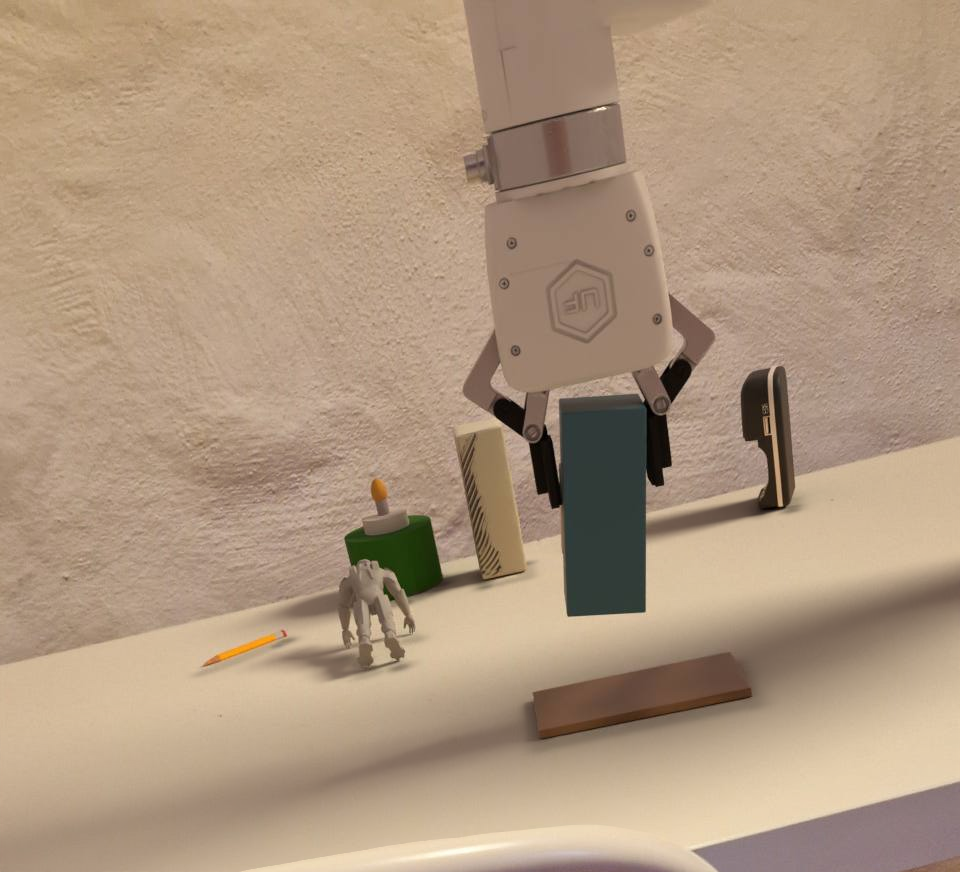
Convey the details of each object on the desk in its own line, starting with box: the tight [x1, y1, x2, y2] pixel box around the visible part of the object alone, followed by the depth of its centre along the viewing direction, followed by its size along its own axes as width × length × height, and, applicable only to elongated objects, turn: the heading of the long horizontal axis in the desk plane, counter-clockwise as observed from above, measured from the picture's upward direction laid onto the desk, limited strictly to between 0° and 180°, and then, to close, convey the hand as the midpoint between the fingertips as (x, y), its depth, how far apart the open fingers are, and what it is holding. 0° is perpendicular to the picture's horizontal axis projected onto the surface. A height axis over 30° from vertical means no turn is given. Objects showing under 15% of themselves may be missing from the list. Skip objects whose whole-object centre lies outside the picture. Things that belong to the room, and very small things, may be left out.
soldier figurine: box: [337, 559, 417, 669], centre depth 117 cm, size 6×5×12 cm
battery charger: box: [740, 365, 796, 509], centre depth 129 cm, size 7×4×11 cm, turn 165°
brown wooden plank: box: [532, 651, 753, 740], centre depth 94 cm, size 14×8×1 cm, turn 91°
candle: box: [343, 477, 444, 601], centre depth 131 cm, size 8×8×10 cm
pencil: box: [202, 629, 288, 666], centre depth 126 cm, size 1×8×1 cm, turn 123°
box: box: [452, 416, 528, 580], centre depth 127 cm, size 5×4×13 cm
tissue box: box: [558, 393, 647, 618], centre depth 88 cm, size 12×6×5 cm
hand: (605, 490), depth 87 cm, fingers closed on tissue box, 5 cm apart
